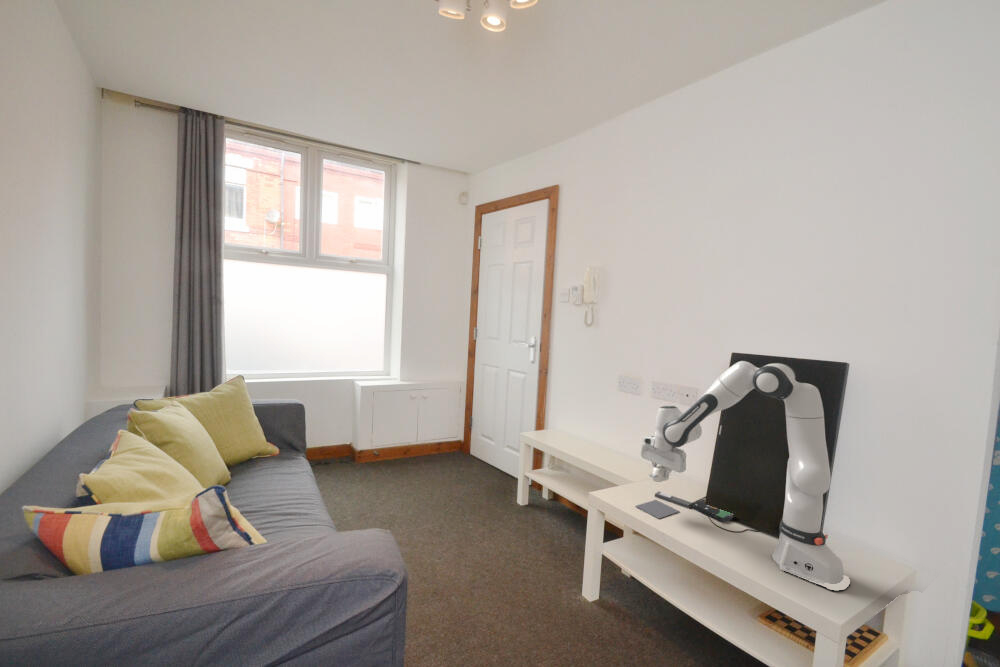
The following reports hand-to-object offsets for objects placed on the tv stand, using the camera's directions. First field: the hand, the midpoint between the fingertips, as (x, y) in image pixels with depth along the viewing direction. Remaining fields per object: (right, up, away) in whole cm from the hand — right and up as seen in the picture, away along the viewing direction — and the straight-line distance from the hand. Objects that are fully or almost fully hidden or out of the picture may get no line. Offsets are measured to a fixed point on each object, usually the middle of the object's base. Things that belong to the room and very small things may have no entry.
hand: (660, 475), depth 195 cm
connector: (-1, -2, 0) cm, 2 cm away
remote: (+9, -16, +11) cm, 21 cm away
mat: (-1, -15, +1) cm, 15 cm away
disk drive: (+23, -18, +2) cm, 29 cm away
